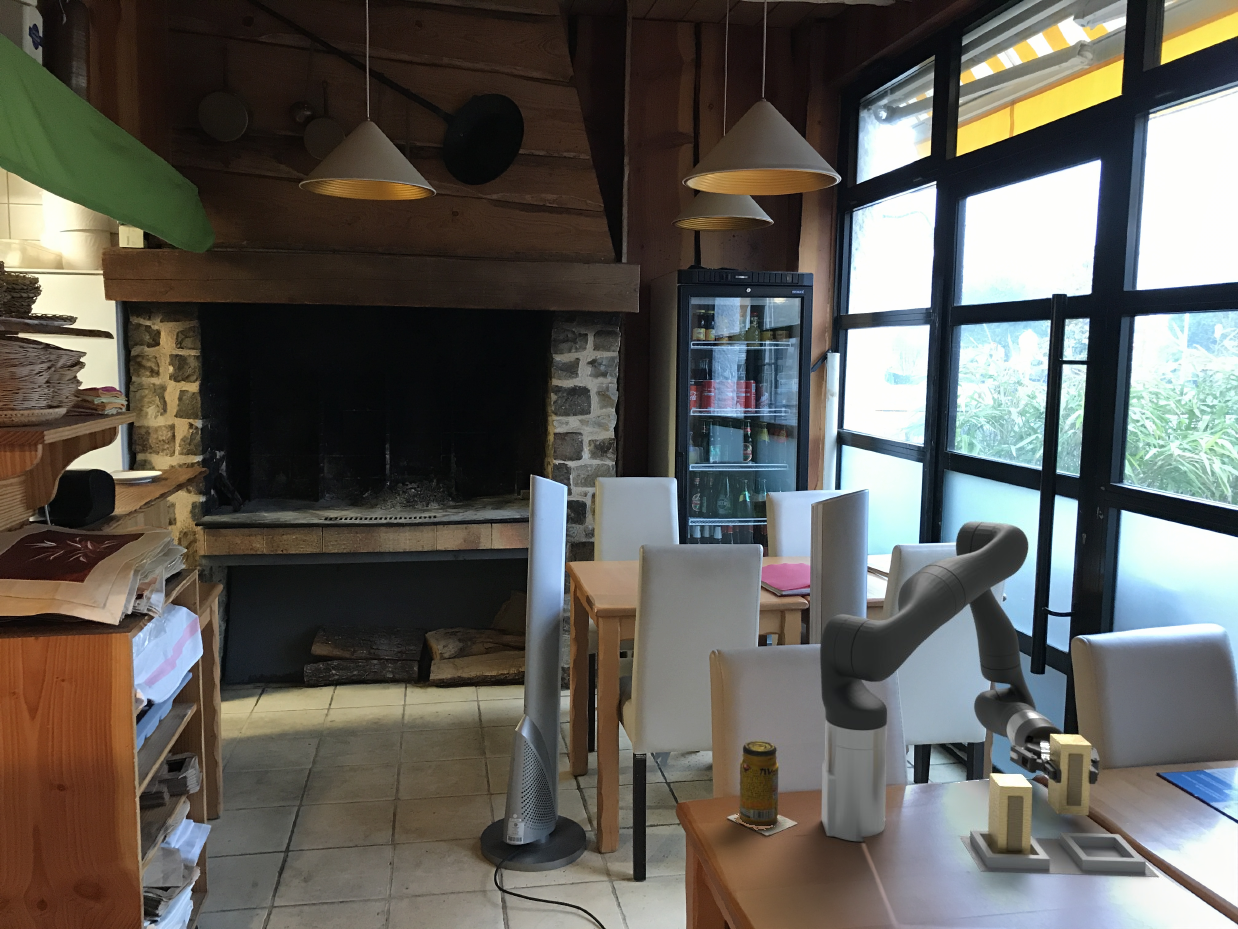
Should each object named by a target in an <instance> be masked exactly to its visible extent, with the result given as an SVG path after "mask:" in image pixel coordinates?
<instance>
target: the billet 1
mask: <svg viewBox="0 0 1238 929" xmlns="http://www.w3.org/2000/svg"><path fill="white" fill-rule="evenodd" d="M988 792H989V795H988V827H987V831H988V847H989V849H990V850H991V852H992V853H993V854H1015V855H1030V844H1031V835H1032V812H1033V811H1032V809H1033V808H1032V807H1033V806H1032V804H1033V786H1032V784H1030V782H1029V781H1028V780H1027V779H1026V778H1025V777H1024V775H1023V774H1022V773H1021V774H1020V773H989V790H988Z"/></svg>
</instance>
